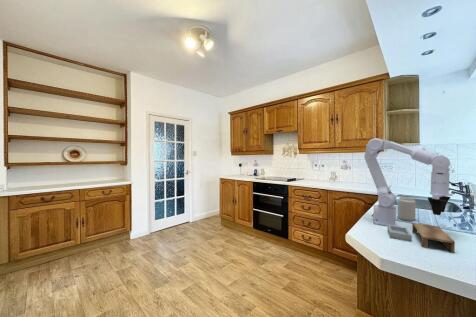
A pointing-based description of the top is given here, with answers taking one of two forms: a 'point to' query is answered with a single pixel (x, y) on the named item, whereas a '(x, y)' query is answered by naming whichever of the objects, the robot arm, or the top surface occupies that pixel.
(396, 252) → the top surface
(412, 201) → the can
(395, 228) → the tray
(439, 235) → the shelf
